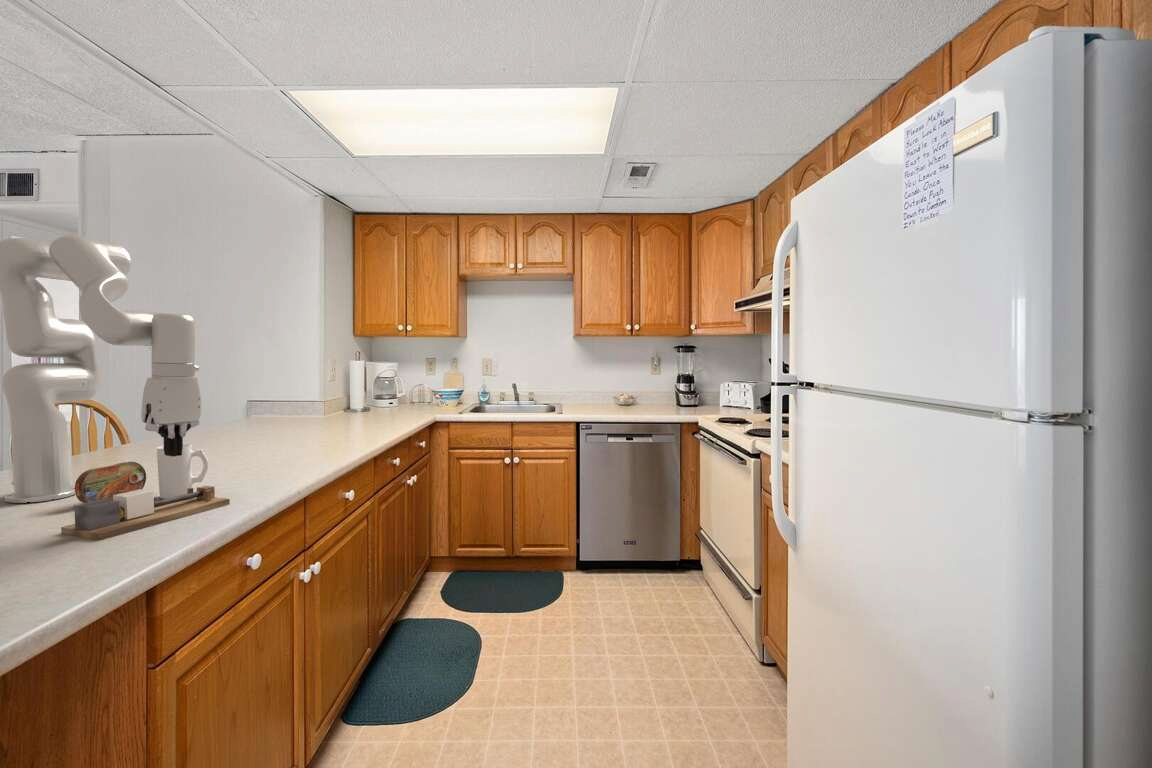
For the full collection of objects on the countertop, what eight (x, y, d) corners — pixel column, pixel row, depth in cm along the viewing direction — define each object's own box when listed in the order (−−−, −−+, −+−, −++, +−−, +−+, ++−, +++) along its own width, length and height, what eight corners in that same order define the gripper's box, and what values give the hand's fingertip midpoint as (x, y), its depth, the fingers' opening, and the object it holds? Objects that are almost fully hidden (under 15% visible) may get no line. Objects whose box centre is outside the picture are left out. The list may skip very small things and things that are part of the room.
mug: (155, 500, 129) (153, 449, 128) (161, 494, 134) (159, 445, 134) (207, 495, 133) (206, 446, 133) (210, 489, 139) (209, 442, 139)
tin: (84, 509, 121) (82, 471, 121) (72, 508, 122) (70, 471, 121) (148, 492, 136) (146, 458, 136) (137, 492, 137) (135, 458, 136)
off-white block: (114, 517, 111) (113, 495, 110) (140, 510, 115) (140, 489, 115) (127, 519, 109) (126, 497, 109) (154, 512, 114) (153, 491, 114)
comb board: (61, 533, 105) (60, 504, 105) (195, 499, 130) (194, 475, 130) (99, 540, 102) (97, 510, 101) (229, 504, 126) (228, 479, 126)
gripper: (195, 369, 127) (194, 448, 129) (123, 371, 113) (123, 459, 115) (218, 371, 125) (218, 451, 126) (148, 373, 111) (148, 463, 112)
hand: (173, 455), depth 120 cm, fingers closed
